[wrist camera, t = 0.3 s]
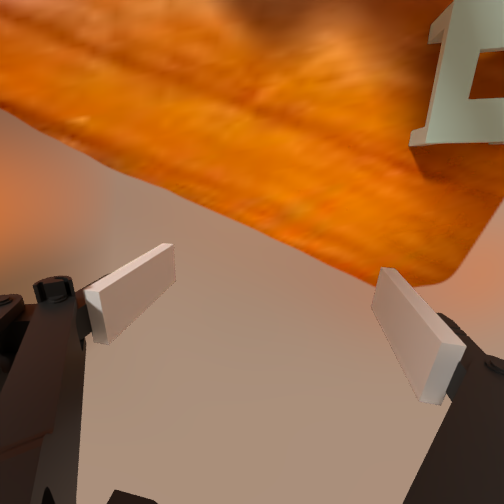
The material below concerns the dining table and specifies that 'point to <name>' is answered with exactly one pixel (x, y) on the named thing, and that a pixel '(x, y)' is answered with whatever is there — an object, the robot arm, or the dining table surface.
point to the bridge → (463, 76)
